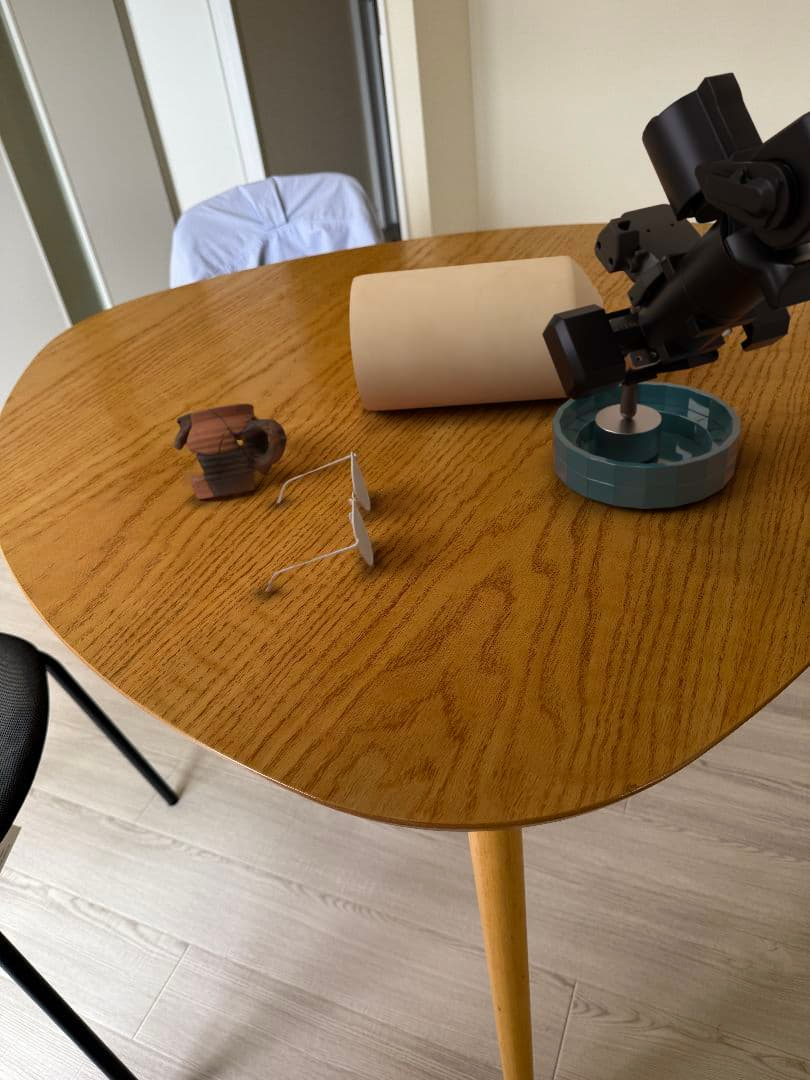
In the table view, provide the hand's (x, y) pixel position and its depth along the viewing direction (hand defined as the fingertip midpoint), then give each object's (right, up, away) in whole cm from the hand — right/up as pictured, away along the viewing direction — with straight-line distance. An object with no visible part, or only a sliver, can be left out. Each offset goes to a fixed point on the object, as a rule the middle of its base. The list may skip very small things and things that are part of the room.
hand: (621, 374), depth 67 cm
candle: (-10, +1, +17) cm, 19 cm away
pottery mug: (-35, -8, +9) cm, 37 cm away
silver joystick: (+1, -6, +3) cm, 7 cm away
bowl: (+2, -8, +2) cm, 8 cm away
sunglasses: (-26, -14, -1) cm, 29 cm away
